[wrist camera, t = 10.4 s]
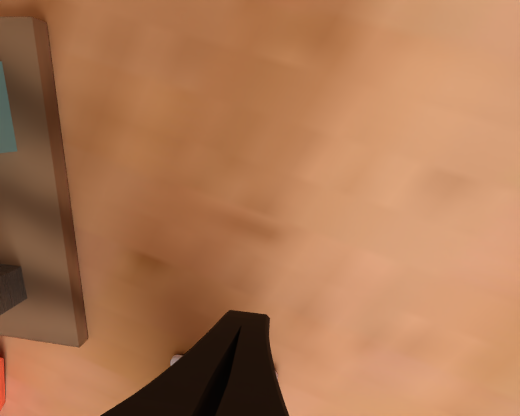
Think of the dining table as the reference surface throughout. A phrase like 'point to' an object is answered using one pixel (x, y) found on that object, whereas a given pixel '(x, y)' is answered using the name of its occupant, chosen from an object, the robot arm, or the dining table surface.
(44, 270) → the walnut board
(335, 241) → the dining table surface
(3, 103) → the teal block
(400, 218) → the dining table surface
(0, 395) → the french fries container
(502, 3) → the dining table surface
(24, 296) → the dark grey post
